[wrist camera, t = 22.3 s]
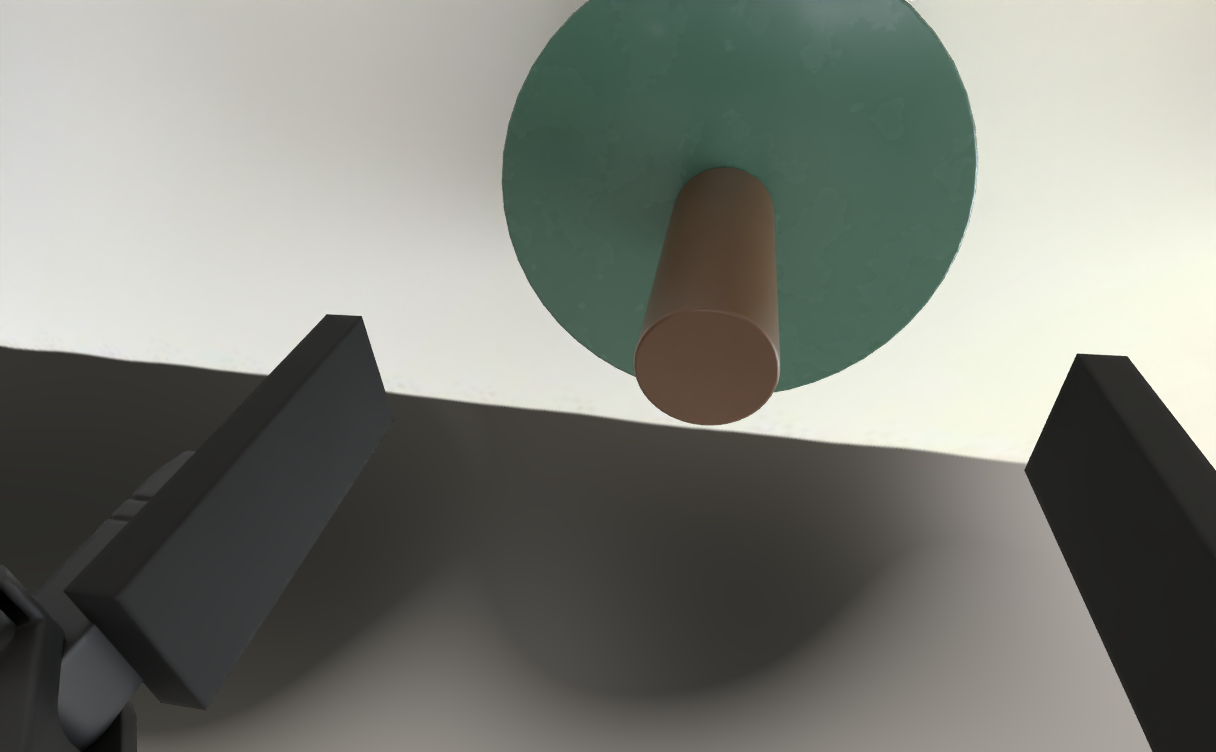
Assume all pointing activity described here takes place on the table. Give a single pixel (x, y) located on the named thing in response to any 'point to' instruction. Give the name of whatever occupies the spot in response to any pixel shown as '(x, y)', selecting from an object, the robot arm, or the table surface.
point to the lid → (738, 189)
